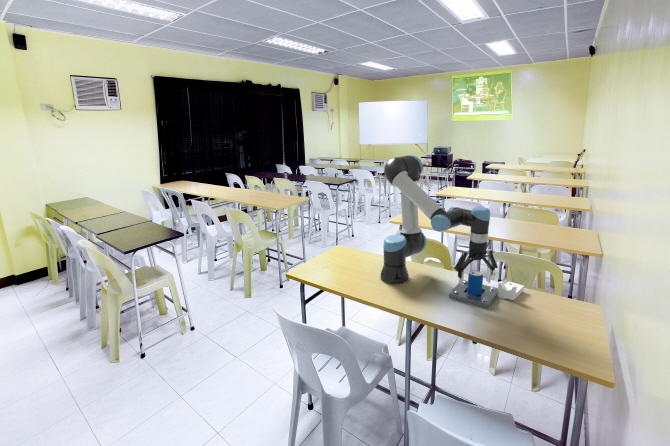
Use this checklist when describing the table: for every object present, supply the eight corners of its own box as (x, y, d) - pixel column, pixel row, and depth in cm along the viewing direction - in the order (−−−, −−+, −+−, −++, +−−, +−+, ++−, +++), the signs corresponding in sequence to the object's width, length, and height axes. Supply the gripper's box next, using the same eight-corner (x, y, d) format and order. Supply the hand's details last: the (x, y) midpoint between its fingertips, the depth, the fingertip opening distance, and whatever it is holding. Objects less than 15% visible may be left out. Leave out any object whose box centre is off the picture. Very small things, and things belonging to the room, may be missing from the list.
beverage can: (470, 291, 169) (472, 268, 165) (483, 295, 164) (485, 272, 161) (464, 296, 164) (466, 273, 161) (477, 300, 160) (479, 277, 157)
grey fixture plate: (448, 298, 163) (449, 292, 162) (461, 283, 176) (462, 278, 176) (488, 309, 152) (489, 303, 151) (499, 293, 166) (499, 287, 165)
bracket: (512, 302, 158) (514, 287, 155) (497, 297, 163) (498, 282, 160) (523, 292, 166) (525, 278, 164) (508, 287, 171) (509, 273, 169)
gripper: (456, 245, 152) (452, 288, 158) (508, 241, 154) (503, 284, 160) (448, 239, 159) (446, 281, 165) (499, 236, 161) (494, 277, 167)
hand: (474, 282), depth 163 cm, fingers open, 13 cm apart
